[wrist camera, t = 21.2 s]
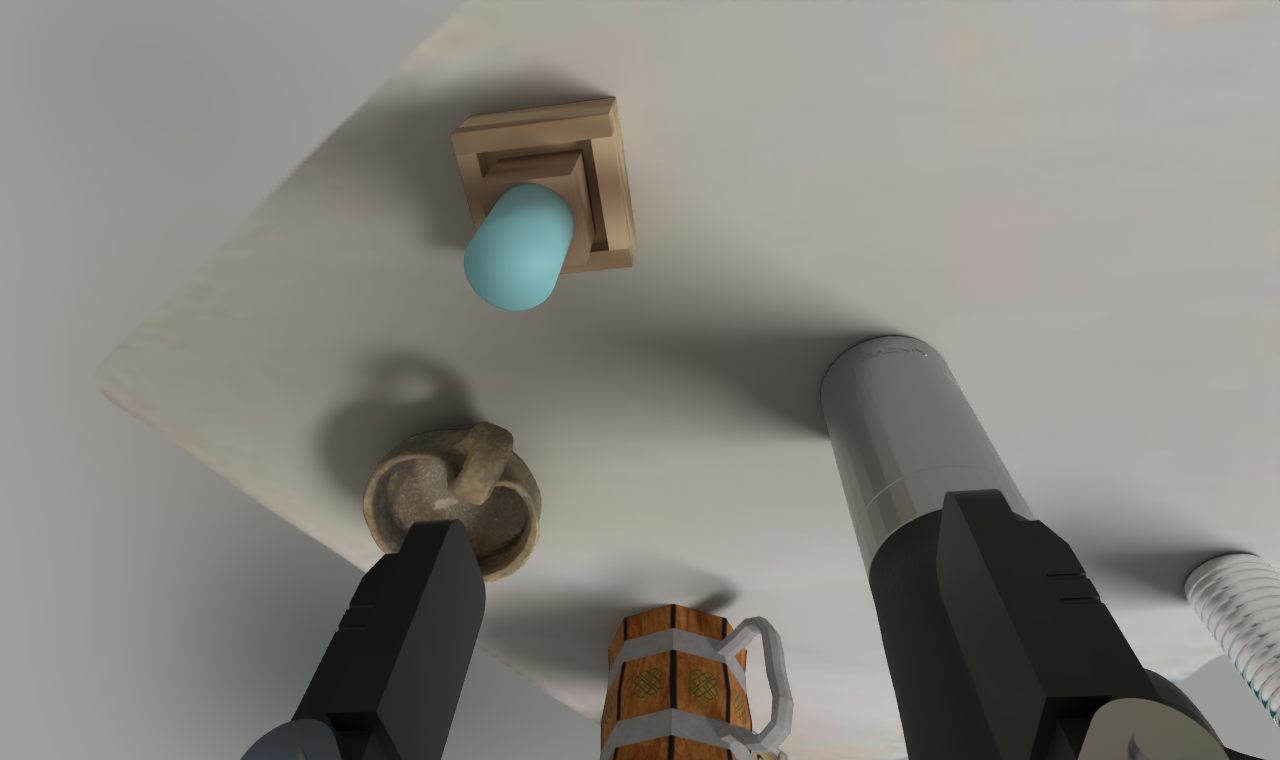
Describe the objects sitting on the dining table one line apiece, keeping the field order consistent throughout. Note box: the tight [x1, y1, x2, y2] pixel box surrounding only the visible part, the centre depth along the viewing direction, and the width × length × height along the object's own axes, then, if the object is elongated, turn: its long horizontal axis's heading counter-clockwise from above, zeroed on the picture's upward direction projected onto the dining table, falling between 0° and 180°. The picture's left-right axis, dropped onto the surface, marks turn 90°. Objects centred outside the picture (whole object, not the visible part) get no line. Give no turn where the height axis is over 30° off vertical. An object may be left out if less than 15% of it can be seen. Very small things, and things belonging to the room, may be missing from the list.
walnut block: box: [478, 149, 596, 266], centre depth 41 cm, size 5×5×5 cm
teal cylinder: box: [464, 183, 574, 311], centre depth 36 cm, size 4×4×6 cm
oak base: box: [450, 97, 636, 274], centre depth 44 cm, size 9×9×4 cm
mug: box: [600, 604, 794, 760], centre depth 63 cm, size 20×14×15 cm
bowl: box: [363, 421, 541, 584], centre depth 54 cm, size 14×18×10 cm
